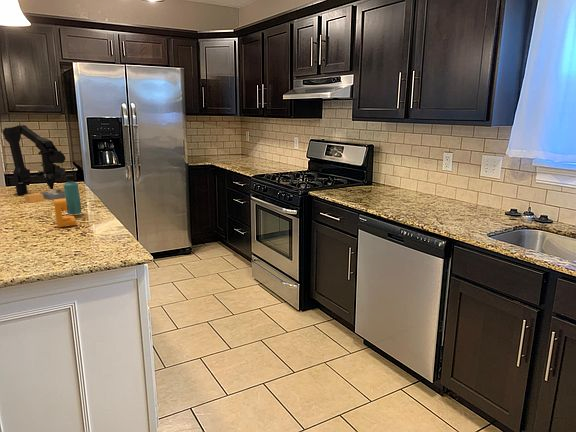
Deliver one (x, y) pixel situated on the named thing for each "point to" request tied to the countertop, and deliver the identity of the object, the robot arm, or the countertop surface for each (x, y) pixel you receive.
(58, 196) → the panel
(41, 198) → the cap
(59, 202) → the bracket
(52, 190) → the breaker button
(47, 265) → the countertop surface
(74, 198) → the beverage bottle
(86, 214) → the countertop surface
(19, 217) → the countertop surface
